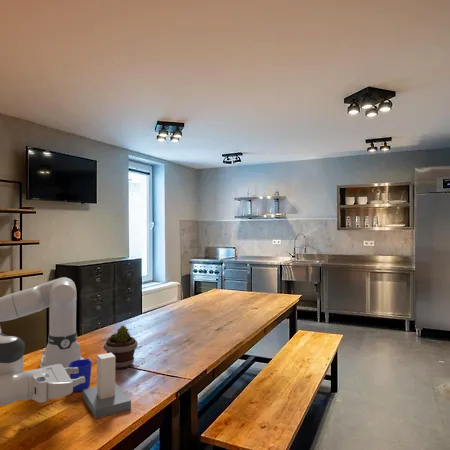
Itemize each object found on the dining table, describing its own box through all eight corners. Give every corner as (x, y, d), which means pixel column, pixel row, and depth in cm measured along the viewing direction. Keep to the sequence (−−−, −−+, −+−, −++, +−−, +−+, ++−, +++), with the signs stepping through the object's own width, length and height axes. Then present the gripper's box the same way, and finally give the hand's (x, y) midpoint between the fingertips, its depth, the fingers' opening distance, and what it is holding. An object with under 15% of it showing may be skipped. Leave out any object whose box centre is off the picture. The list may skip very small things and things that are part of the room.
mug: (97, 380, 154) (97, 355, 154) (87, 393, 142) (87, 366, 142) (76, 380, 154) (77, 356, 154) (65, 393, 142) (65, 367, 142)
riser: (82, 397, 139) (82, 389, 139) (114, 390, 145) (115, 382, 145) (95, 418, 124) (95, 409, 124) (130, 409, 130) (130, 400, 130)
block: (96, 393, 135) (97, 354, 135) (110, 390, 138) (111, 352, 138) (100, 399, 131) (101, 359, 131) (115, 395, 134) (115, 356, 134)
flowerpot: (102, 362, 175) (102, 319, 175) (135, 358, 180) (136, 316, 180) (103, 373, 161) (104, 327, 161) (139, 369, 167) (140, 324, 167)
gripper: (32, 381, 130) (74, 373, 138) (41, 405, 113) (88, 394, 121) (32, 363, 130) (74, 356, 138) (41, 384, 113) (89, 375, 121)
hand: (81, 374), depth 129 cm, fingers open, 8 cm apart
